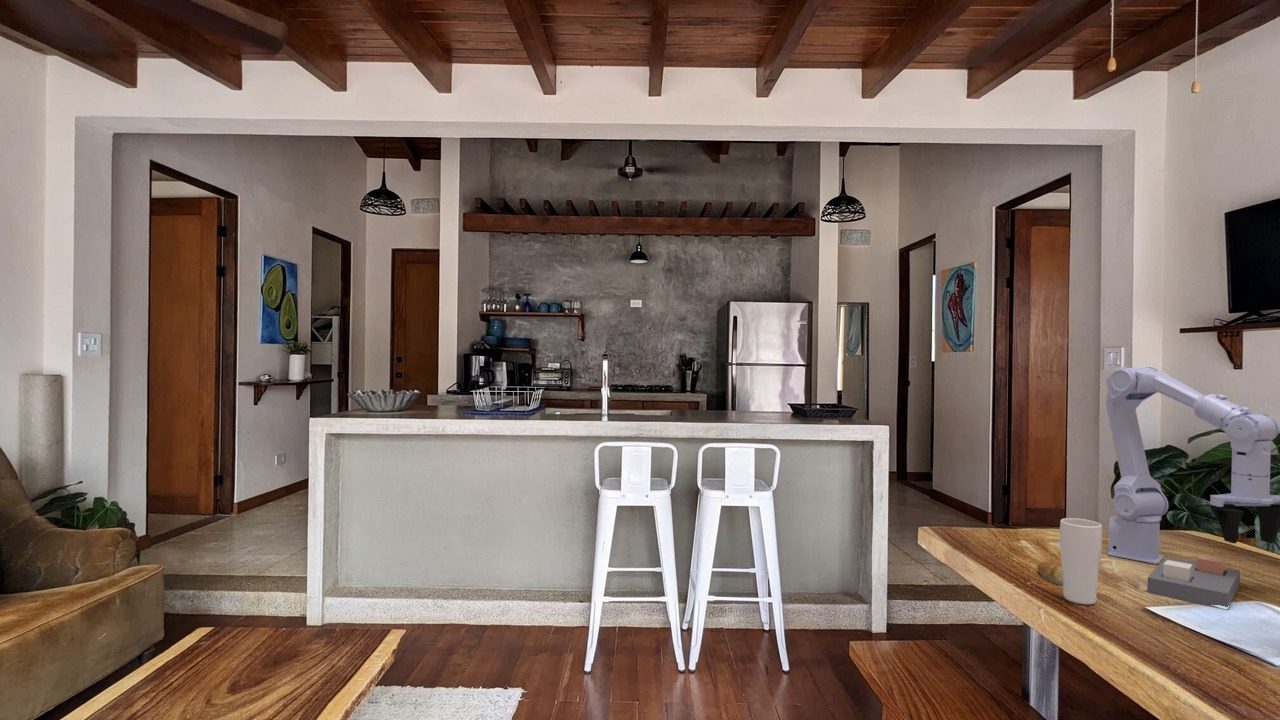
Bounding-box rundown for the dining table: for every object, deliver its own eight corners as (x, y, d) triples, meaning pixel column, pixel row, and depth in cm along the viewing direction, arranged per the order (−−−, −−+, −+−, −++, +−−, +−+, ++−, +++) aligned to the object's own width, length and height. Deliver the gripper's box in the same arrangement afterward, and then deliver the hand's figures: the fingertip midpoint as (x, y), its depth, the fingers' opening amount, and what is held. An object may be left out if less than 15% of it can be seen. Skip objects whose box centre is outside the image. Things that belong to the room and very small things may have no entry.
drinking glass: (1101, 609, 124) (1103, 528, 124) (1058, 602, 128) (1059, 523, 128) (1100, 598, 130) (1101, 521, 130) (1058, 591, 134) (1059, 516, 133)
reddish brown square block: (1196, 572, 138) (1197, 558, 138) (1199, 568, 141) (1200, 554, 141) (1222, 577, 135) (1222, 562, 135) (1225, 573, 138) (1225, 558, 138)
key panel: (1147, 592, 133) (1147, 577, 133) (1166, 570, 147) (1166, 556, 147) (1227, 609, 125) (1227, 593, 125) (1239, 584, 138) (1239, 569, 138)
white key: (1163, 579, 134) (1163, 564, 134) (1166, 574, 137) (1167, 559, 137) (1188, 584, 131) (1189, 568, 131) (1192, 579, 134) (1192, 564, 134)
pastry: (1027, 572, 146) (1028, 555, 146) (1055, 571, 147) (1056, 554, 146) (1060, 588, 136) (1061, 569, 136) (1090, 587, 137) (1091, 568, 137)
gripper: (1233, 477, 131) (1231, 547, 131) (1306, 478, 131) (1304, 547, 131) (1201, 471, 138) (1200, 537, 138) (1271, 471, 138) (1269, 537, 138)
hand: (1248, 542), depth 135 cm, fingers open, 7 cm apart
